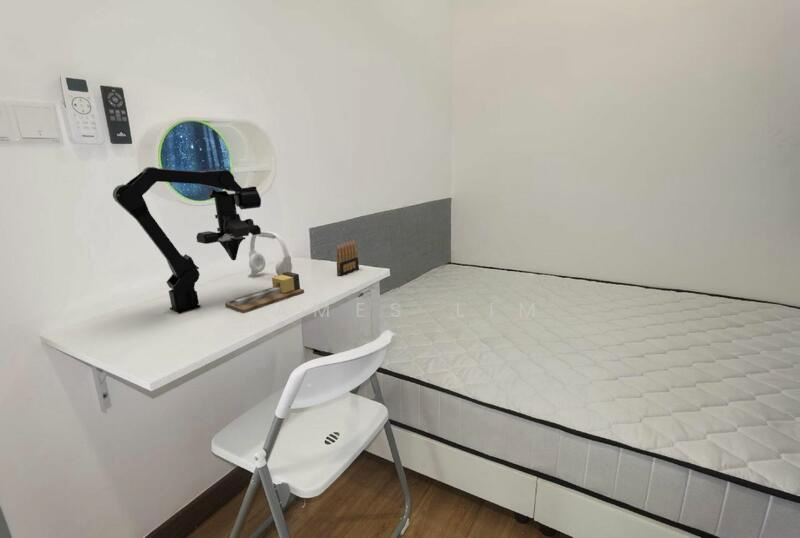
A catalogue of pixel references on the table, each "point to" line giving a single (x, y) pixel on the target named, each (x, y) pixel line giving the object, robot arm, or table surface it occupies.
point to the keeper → (283, 283)
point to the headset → (259, 261)
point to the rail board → (264, 301)
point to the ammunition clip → (347, 259)
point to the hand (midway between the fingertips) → (233, 260)
